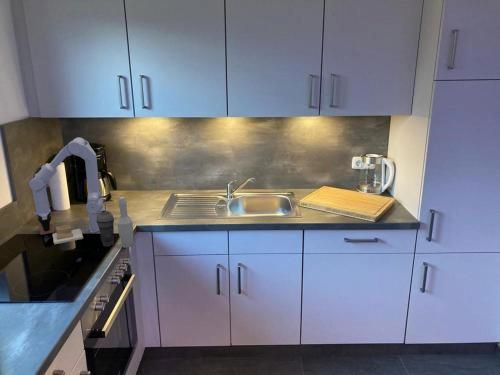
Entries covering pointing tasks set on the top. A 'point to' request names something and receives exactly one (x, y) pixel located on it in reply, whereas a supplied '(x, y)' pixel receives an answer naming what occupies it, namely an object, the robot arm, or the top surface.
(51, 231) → the rust brick
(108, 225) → the beverage cup
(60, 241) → the baseplate
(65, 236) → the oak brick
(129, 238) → the faceted bottle
